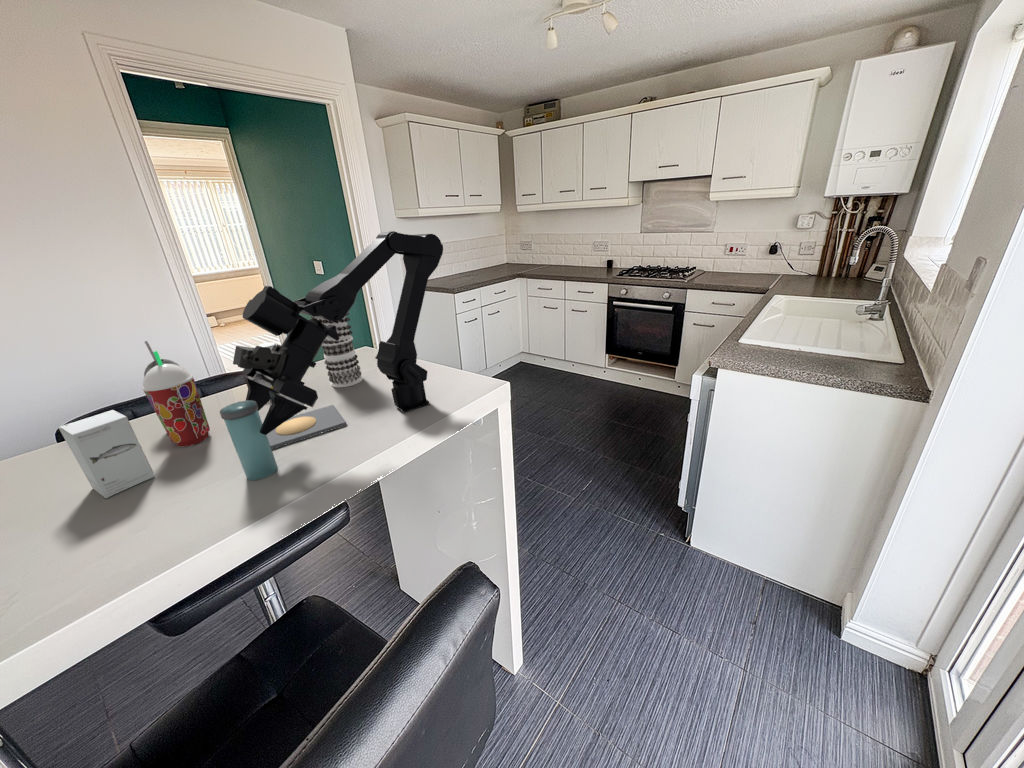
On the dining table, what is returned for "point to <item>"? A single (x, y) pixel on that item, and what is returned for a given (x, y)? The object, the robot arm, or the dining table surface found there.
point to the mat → (306, 426)
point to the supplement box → (108, 452)
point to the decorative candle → (341, 355)
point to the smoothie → (176, 403)
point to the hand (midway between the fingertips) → (252, 426)
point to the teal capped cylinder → (249, 439)
